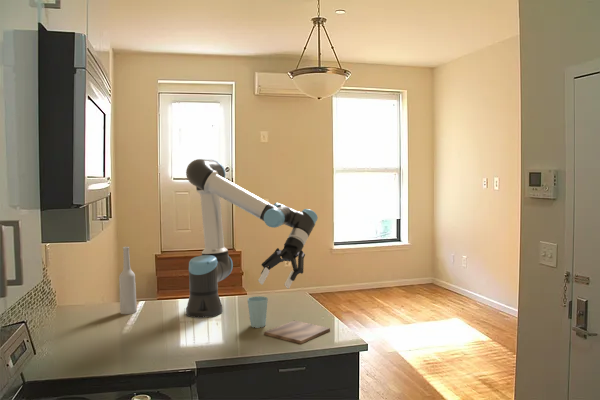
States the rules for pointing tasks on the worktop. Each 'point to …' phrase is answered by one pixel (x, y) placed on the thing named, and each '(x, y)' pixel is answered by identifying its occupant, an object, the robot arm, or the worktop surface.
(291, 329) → the board
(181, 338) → the worktop surface
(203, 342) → the worktop surface
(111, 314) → the worktop surface
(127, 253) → the bottle
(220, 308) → the robot arm
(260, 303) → the cup
